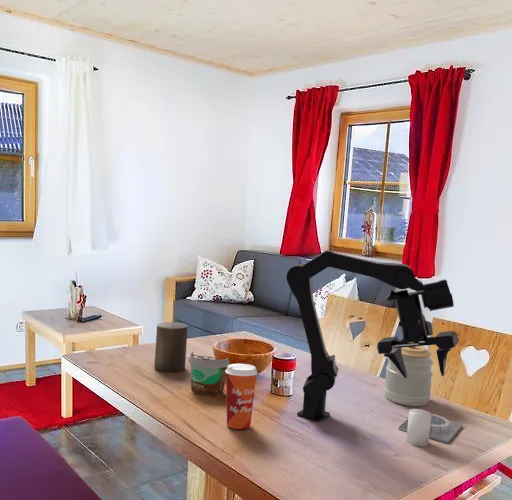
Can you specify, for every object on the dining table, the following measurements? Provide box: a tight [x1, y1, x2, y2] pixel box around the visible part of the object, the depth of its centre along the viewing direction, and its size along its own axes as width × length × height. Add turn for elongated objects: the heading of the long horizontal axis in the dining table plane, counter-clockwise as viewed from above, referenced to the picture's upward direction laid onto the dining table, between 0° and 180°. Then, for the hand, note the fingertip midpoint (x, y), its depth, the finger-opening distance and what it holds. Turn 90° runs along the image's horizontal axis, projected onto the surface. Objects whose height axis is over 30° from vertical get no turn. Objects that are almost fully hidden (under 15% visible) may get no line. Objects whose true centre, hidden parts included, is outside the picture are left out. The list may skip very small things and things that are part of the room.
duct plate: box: [398, 413, 464, 445], centre depth 135 cm, size 14×12×2 cm
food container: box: [187, 351, 231, 396], centre depth 149 cm, size 12×6×10 cm, turn 68°
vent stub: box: [405, 408, 432, 448], centre depth 126 cm, size 6×5×7 cm
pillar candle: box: [154, 320, 189, 373], centre depth 170 cm, size 10×10×15 cm
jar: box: [383, 342, 434, 407], centre depth 156 cm, size 13×13×18 cm
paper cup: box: [225, 363, 258, 430], centre depth 128 cm, size 8×8×14 cm
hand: (424, 376), depth 132 cm, fingers open, 9 cm apart
